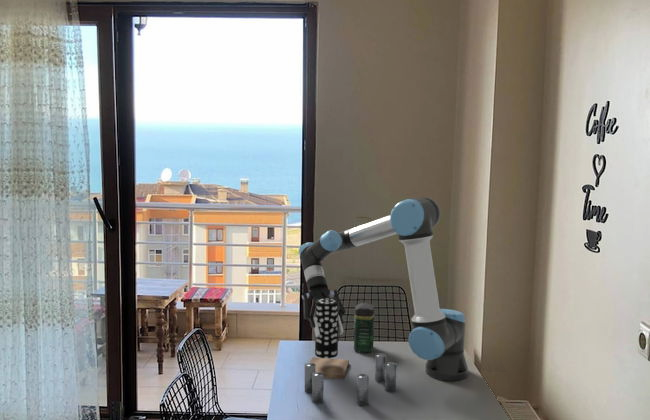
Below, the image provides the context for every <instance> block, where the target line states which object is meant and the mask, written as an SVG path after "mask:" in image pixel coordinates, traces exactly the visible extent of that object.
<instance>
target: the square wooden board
mask: <svg viewBox="0 0 650 420" xmlns="http://www.w3.org/2000/svg"><path fill="white" fill-rule="evenodd" d="M309 363H314V364H315V372H321V373H323V374H324V379H335V380H344V379H345V376H346V374H347V373H346V372H347V370H348V367H349V364H350V360H349V359H341V358H320V357H317V356H315V357H314V356H313V357H311V359H310V361H309Z"/></svg>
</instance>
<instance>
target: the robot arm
mask: <svg viewBox="0 0 650 420" xmlns="http://www.w3.org/2000/svg"><path fill="white" fill-rule="evenodd" d="M441 213H442V212H441V208H440V205H439V204H438V202H436V200H434V199H433V198H430V197H426V196H423V197H416V198H408V199H404V200H402V201H399V202H398V203H396V204H395V205H394V206H393V208H392V209H391V212H390V215H389V214H388V215H386V216H384V217H380V218H378V219H375V220H373V221H369V222H367V223H364V224H361V225H357V226H355V227H352V228H349V229H346V230H343V231H340V232H337V231H336V230H333V229H330V230H327V231H326V232H325V233H323V234H322V235H321V236H320V237H319V238H318V239H316V241H315V242H311V241H310V242H305V243H303V244H301V246H299V249H298V254H299V259H300V263H301V267H302V271H303V273H304V274H303V275H304V278H305V282H306V286H307V291H308V292H307V293H306V292H303V293H302V295H301V299H302V304H303V305H302V306H303V319H304V320H307V321H308V322H309V324H310V327H311V329H314V330H313V331H314V335H316V337H319V335H320V332H319V328H318V324H317V320H316V317H314V315H315V309H316V300H317V299H319V298H334V299H337V300H338V301H339V304H338V335H339V336H340V335H341V336H342V335H343V333H344V328H343V324H344V320H343V317H344V315H345V314H346V309H345V307H344V306H343V303H342V300H340V297H339V295H338V290H337V289H335V290H333V291H332V290H331V289H329V287H328V283H327V278H326V276H325V271H324V268H323V264H322V262H323V261H325V260H326V259H327V258H328V257H330V256H331V255H333V254H336V253H341V252H343V251H348V250H352V249H354V248H357V247H360V246H363V245H366V244H369V243H372V242H375V241H379V240H382V239H384V238H388V237H392V236H394V235H397V237H398V242H400V243H401V244H403V245H404V251H405V257H406V258H405V259H406V264H407V265H406V266H407V271H408V272H407V273H408V279H409V284H410V291H411V296H412V297H411V298H412V305H413V310H414V315H413V316H412V317H411V318H410V320H411V327H412V330H411V331H410V333H409V335H408V345H409V348H410V349H411V351H412V353H413V354H414V355H416V356H417V357H418V358H419V359H422V360H425V361H426V362H425V368H424V369H425V370H424V371H425V374H426V375H428V376H430V377H431V378H433V379H436V380H439V381H440V380H441V381H446V382H456V381H461V380H464V379H466V378H467V377H468V376H469V366H468V364H467V360H466V357H465V353H464V352H465V336H466V335H465V333H466V331H465V330H466V329H465V328H466V315H465V314H464V313H463V312H461V311H458V310H454V309H448V308H440V303H439V302H440V301H439V295H438V294H439V293H438V289H437V288H438V287H437V283H436V275H435V269H434V263H433V257H432V250H431V249H432V248H431V243H430V241H431V240H432V239H433V237H434V232H433V228H434V227H436V226H437V225H438V223H439V222H440V220H441ZM330 296H331V297H330ZM309 298H310V299H311V300H312V304H311V307H310V312H309Z"/></svg>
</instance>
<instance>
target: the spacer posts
mask: <svg viewBox="0 0 650 420" xmlns="http://www.w3.org/2000/svg"><path fill="white" fill-rule="evenodd" d="M374 361H375V362H374V363H375V369H374V371H375V372H374V380H375V382H376V383H377V382H378V383H384V385H385V386H384V387H385V389H384V390H385V391H386V392H388V393H394V392H396V391H397V363H396V362H393V361H388V362H386V361H387V355H386V354H385V353H381V352H379V353H376V354H375V360H374ZM356 376H357V377H356V405H357V406H359V407H367V406H369V379H370V377H369V375H368V374H364V373H359V374H357V375H356ZM324 380H325V378H324V374H323V373H321V372H315V364H314V363H310V362H306V363H305V364H304V392H305V393H307V394H311V402H312V403H313V404H315V405H320V404H323V403H324V385H325V383H324Z"/></svg>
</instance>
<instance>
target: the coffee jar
mask: <svg viewBox="0 0 650 420" xmlns="http://www.w3.org/2000/svg"><path fill="white" fill-rule="evenodd" d="M353 324H354V326H353V327H354V330H353V331H354V333H353V350H354V352H357V353H362V354H366V353H372V351H373V349H374V334H375V307H374V305H372V304H371V303H370V302H360V303H358V304H357V305H356V306H355V307H354V323H353Z"/></svg>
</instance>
